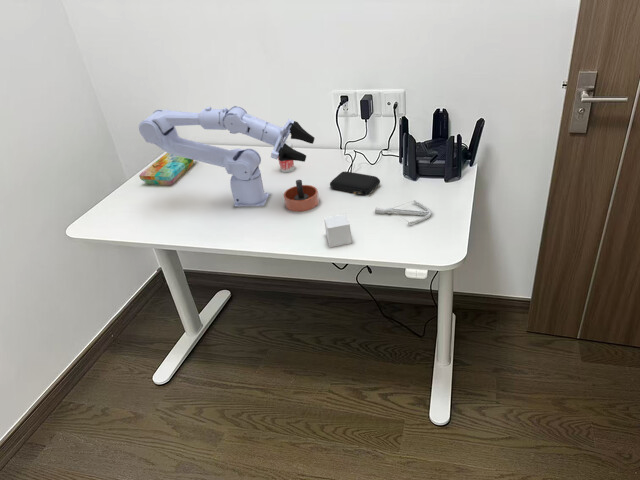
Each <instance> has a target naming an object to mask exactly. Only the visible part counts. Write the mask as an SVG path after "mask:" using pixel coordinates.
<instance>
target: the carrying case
mask: <svg viewBox="0 0 640 480" xmlns="http://www.w3.org/2000/svg"><path fill="white" fill-rule="evenodd" d="M380 184H381V179H380V178H378V177H377V176H375V175H371V174H366V173H365V174H364V173H359V172H352V171H342V172H340V173H339V174H338V175H337V176H336V177H334V178H333V179H332V180H331V181H330V182H329V187H330V188H332V189H333V190H337V191H343V192H348V193H352V194H353V195H364V196H365V195H370V194H371V193H372V192H373V191H374V190H375V189H376V188H377V187H378V186H379V185H380Z"/></svg>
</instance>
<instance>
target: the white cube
mask: <svg viewBox="0 0 640 480" xmlns="http://www.w3.org/2000/svg"><path fill="white" fill-rule="evenodd" d="M323 220H324V221H323V222H324V228H325V229H324V230H325V235H326V238H327V243H328V245H329V247H330V248H333V247H334V248H335V247H339V246H344V245H349V244H352V243H353V241H352V231H351V223H350V221H349V218H348V216H347V214H346V213H340V214H335V215H330V216H324V217H323Z"/></svg>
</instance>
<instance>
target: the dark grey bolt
mask: <svg viewBox="0 0 640 480" xmlns="http://www.w3.org/2000/svg"><path fill="white" fill-rule="evenodd" d="M302 185H303V180H302V179H296V180H295V186H297V192H298V195H296V196H295V197H294V199H295V200H305V199H308V195H307V194H304V192H303V186H302Z"/></svg>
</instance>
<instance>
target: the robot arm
mask: <svg viewBox="0 0 640 480" xmlns="http://www.w3.org/2000/svg"><path fill="white" fill-rule="evenodd" d="M176 126H177V127H180V126H181V127H182V126H200V127H202V129H204V130H218V131H219V130H220V131H226V130H227V131H229V133H230V134H233V135H236V134H242V135H246V136H249V137H250V138H252V139H255V140H258V141H260V142H263V143H265V144H268V145H270V146H273V149H272V151H271V155H270V158H271V159H274V160H278V157H279V160H280V161H287V160H293V161H294V162H295V161H296V162H304V163H305V162H306V160H307V155H306V154H305V153H303V152H300V151H298V150H296V149H294V148H293V147H292V148H291V147H289V146H288V145H287V144H285V142H286V141H287V140H288V137H289V136H290V140H299V141H302V142H305V143H308V144H312V145H313V144H314V142H315V137H314V136H313V135H311V134H310V133H309V132H308V131H306V130H305V129H304V128H303V127H302V126H301V125H300V124H299V122H298V121H295V120H293V119H290V118H288V120H287V121H286V123H285V124H284V125H283V126H280V125H279V126H278V125H276V124H274V123H272V122H270V121H267V120H264V119H262V118H259V117H257V116H254V115H252V114H249V113H248V112H247V110H246V109H244V108H243V107H241V106H237V105H234V106H231V107H230V108H228V107H223V108H212V107H211V106H207V107H205V108H203V109H202V110H201V111H200V112H192V111H181V110H180V111H178V110H171V109H168V108H166V109H156V110H154V111H153V112H152V113H151V114H150V115H149V116H148V117H146V118H145V119H144V120H142V121H141V122H139V124H138V131H139V133H140V135H141V137H142V138H143V139H144V141H145V142H146V143H148V144H152V145H155V146H157V147H158V148H159V149H161V150H162V151H164V152H165V153H169V154H173V155H176V156H180V157H184V158H188V159H192V160H194V161H197V162H201V163H204V164H209V165H213V166H215V167H216V166H217V167H221V168H224V169H225V171H226V173H227V175H231V176H230V181H229V183H230V185H229V186H230V191H231V195H232V199H233V203H234V204H233V207H234V208H235V207H236V208H239V207H261V206H262V207H263V206H264V205H265V204H266V202H267V199H268V197H269V196H270V192H266V191H265V188H264V183H263V182H264V181H263V177H262V173H261V169H260V167H259V166H260V164H261V162H262V157H261V154H260V153H259V152H258V151H257V150H255V149H254V148H243V149H242V148H233V149H226V148H222V147H219V146H215V145H210V144H207V143H203V142H199V141H194V140H190V139H187V138H182V137H180V136H179V134H178V131H177V128H176ZM279 160H278V161H279Z"/></svg>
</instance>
